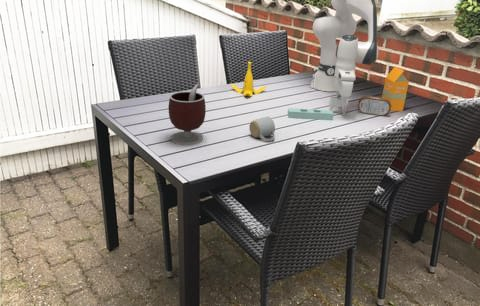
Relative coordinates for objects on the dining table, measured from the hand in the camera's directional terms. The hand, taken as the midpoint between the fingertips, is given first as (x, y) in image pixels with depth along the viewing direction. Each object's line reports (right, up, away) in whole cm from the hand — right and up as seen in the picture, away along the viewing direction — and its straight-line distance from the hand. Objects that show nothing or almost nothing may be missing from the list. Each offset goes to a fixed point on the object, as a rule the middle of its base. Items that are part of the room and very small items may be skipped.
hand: (340, 101), depth 196 cm
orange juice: (+29, -2, +13) cm, 32 cm away
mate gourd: (-67, -18, -32) cm, 77 cm away
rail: (-15, -8, -4) cm, 17 cm away
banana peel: (-41, +8, +27) cm, 50 cm away
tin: (+16, -6, +4) cm, 18 cm away
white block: (-1, -5, +3) cm, 6 cm away
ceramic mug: (-38, -18, -28) cm, 50 cm away
